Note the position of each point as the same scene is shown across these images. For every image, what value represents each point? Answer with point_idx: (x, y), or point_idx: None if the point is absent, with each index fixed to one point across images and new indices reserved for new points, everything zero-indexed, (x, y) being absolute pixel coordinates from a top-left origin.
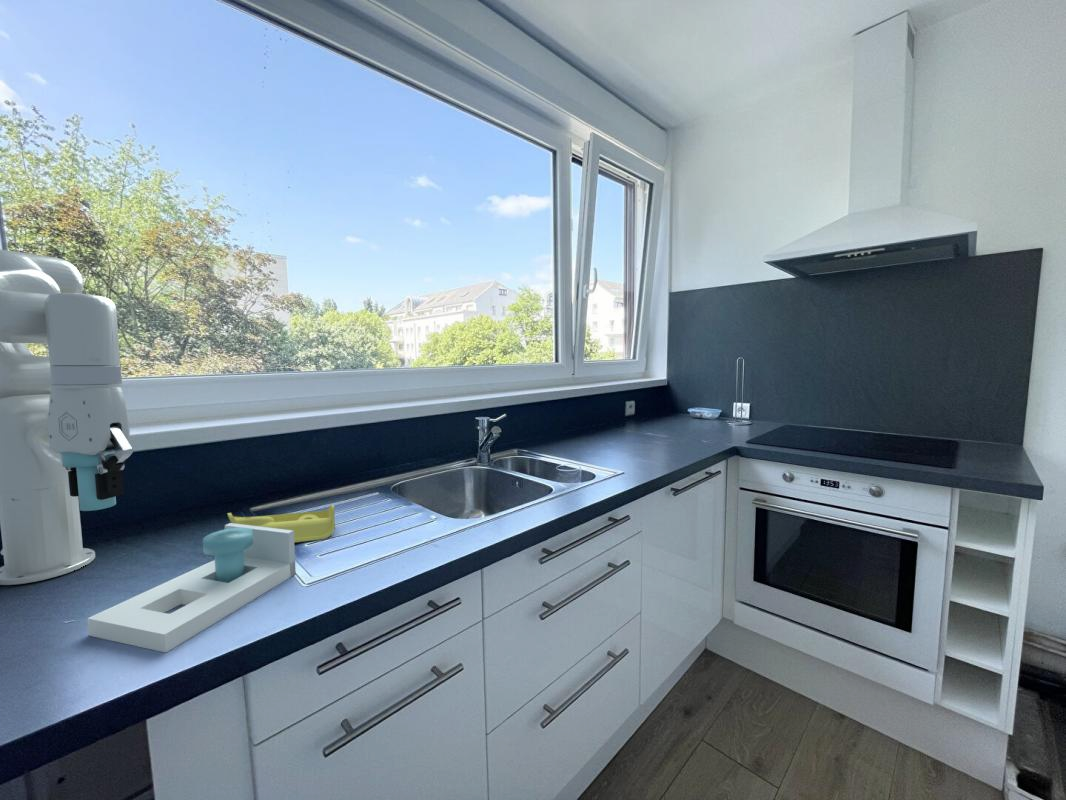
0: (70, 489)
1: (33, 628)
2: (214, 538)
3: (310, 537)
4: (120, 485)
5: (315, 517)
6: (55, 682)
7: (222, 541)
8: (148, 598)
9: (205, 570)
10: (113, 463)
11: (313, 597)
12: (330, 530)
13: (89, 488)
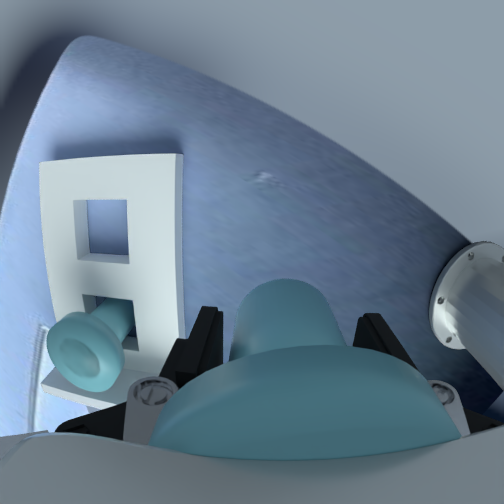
0: (381, 324)
1: (296, 149)
2: (83, 343)
3: None
4: None
5: None
6: (116, 81)
7: (58, 332)
8: (145, 227)
9: (154, 325)
10: (76, 420)
11: (17, 301)
12: None
13: (253, 329)
